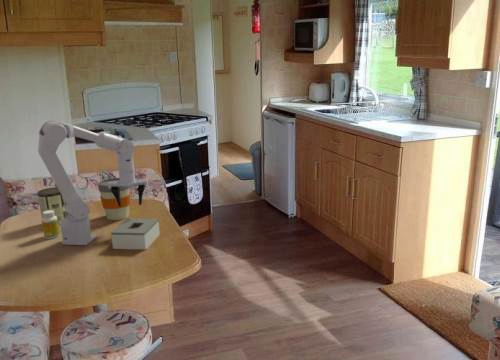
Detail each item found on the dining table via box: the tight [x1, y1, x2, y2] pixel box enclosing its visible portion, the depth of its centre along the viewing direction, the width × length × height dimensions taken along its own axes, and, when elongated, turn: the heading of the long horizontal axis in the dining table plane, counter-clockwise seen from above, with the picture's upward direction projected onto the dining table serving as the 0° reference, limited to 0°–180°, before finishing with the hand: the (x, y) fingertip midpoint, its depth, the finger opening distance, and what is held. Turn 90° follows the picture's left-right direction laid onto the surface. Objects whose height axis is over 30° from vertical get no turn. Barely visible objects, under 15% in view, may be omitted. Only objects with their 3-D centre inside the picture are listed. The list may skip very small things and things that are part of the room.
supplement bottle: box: [41, 210, 61, 240], centre depth 180 cm, size 5×5×10 cm
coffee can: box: [36, 186, 69, 228], centre depth 193 cm, size 10×10×14 cm
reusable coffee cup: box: [98, 177, 131, 221], centre depth 199 cm, size 12×13×15 cm
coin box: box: [110, 218, 161, 250], centre depth 172 cm, size 12×14×6 cm
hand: (130, 204), depth 184 cm, fingers open, 7 cm apart
